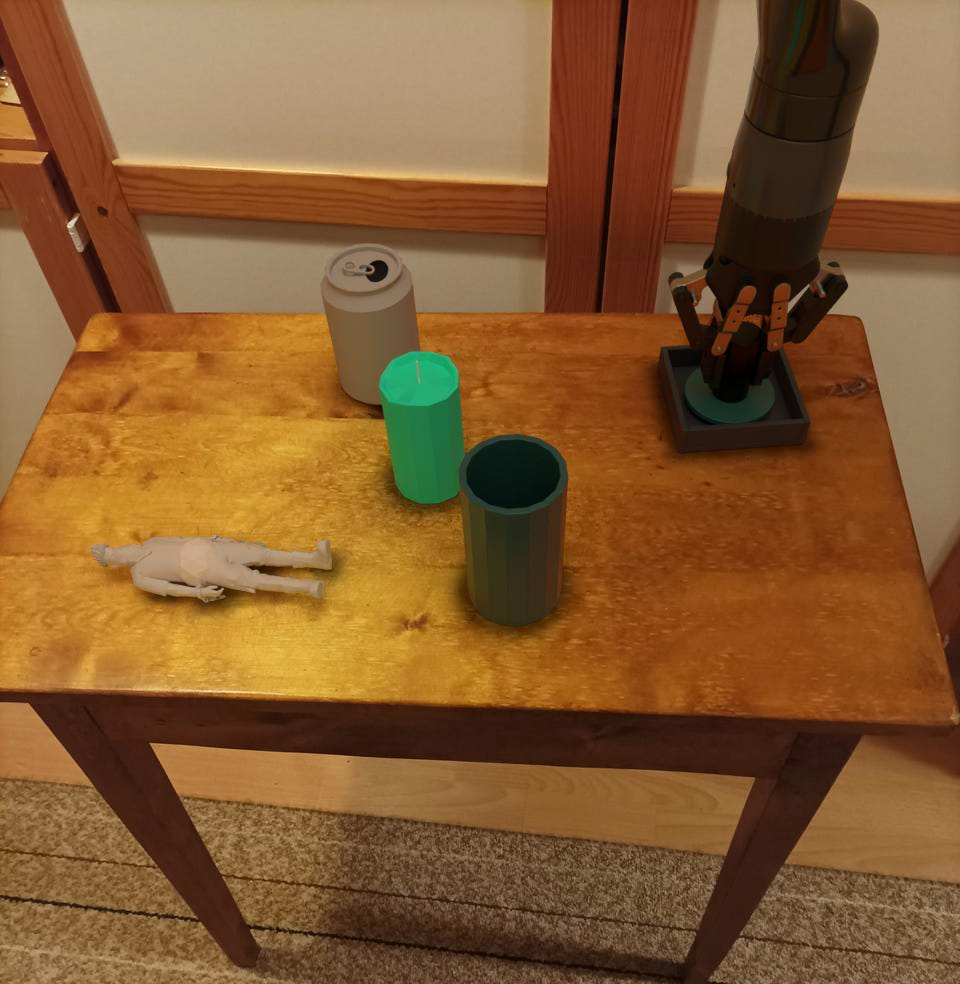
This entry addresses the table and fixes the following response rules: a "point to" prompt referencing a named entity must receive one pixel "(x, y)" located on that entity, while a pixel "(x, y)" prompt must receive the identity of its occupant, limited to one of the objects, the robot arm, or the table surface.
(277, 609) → the table surface
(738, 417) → the pan lid
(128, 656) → the table surface
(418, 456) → the candle
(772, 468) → the table surface
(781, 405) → the square tray
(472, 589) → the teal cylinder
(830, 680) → the table surface
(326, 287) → the can
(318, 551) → the figurine
